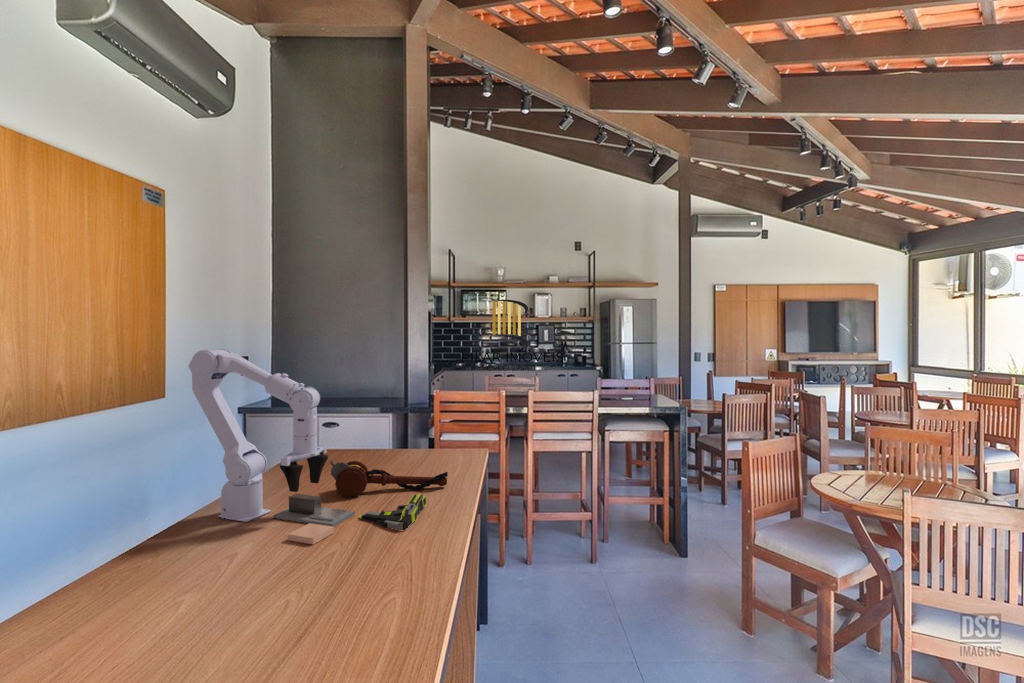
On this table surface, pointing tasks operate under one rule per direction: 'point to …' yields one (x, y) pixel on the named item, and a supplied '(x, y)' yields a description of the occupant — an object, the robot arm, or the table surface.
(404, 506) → the toy gun
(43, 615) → the table surface
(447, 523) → the table surface
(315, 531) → the block
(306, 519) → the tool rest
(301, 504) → the turner
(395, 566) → the table surface
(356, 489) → the gavel
